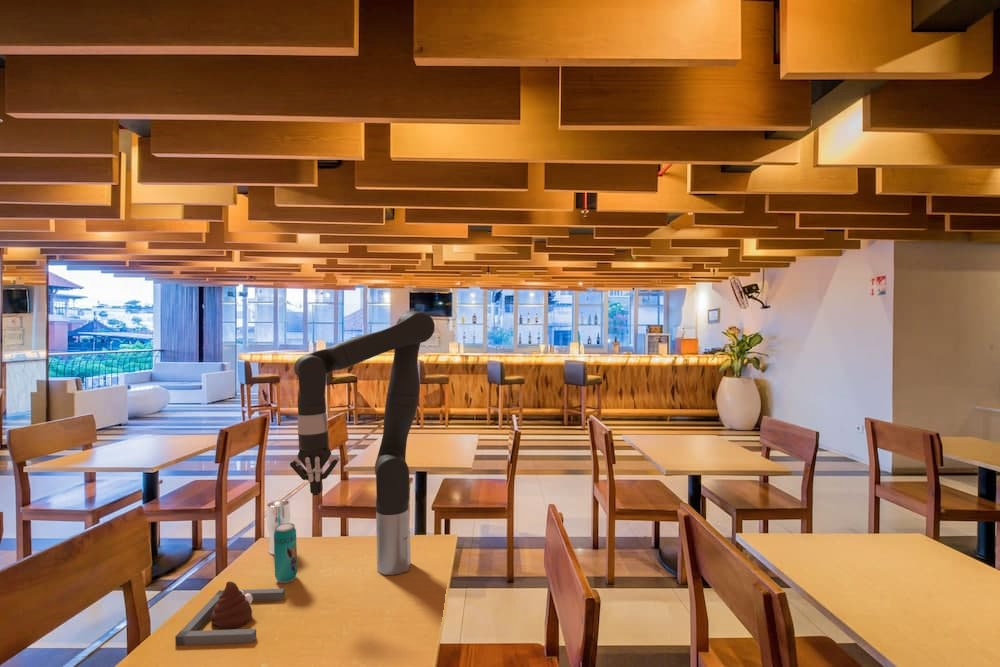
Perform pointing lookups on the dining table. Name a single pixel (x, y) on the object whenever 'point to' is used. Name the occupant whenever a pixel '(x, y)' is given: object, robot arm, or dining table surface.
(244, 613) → the poop emoji
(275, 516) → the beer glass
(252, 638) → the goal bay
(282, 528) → the beverage can
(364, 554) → the dining table surface
